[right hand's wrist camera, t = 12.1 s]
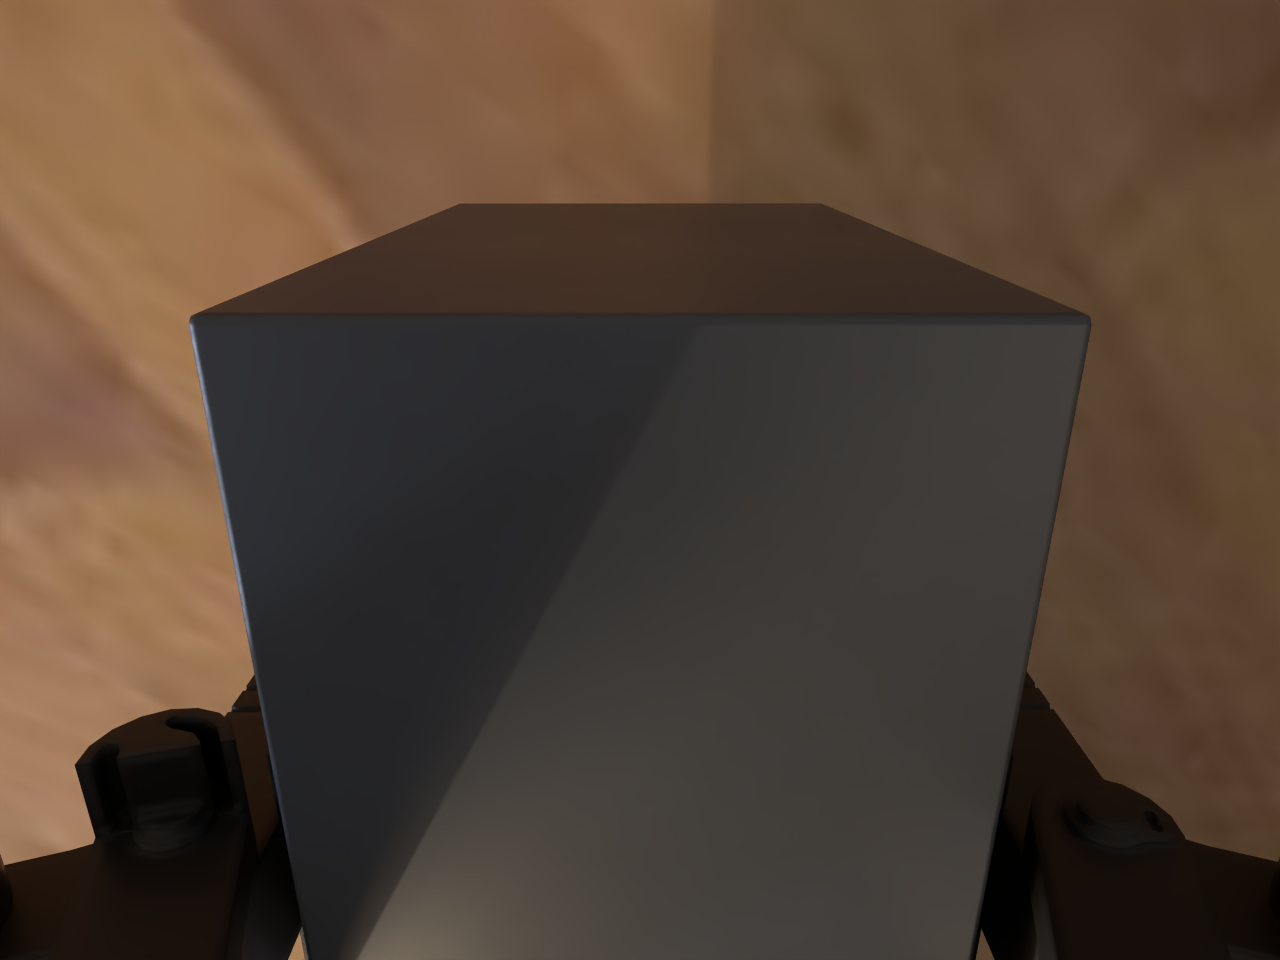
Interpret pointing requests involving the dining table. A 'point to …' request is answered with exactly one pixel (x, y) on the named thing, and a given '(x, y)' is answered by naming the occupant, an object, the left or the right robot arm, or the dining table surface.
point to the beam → (640, 578)
